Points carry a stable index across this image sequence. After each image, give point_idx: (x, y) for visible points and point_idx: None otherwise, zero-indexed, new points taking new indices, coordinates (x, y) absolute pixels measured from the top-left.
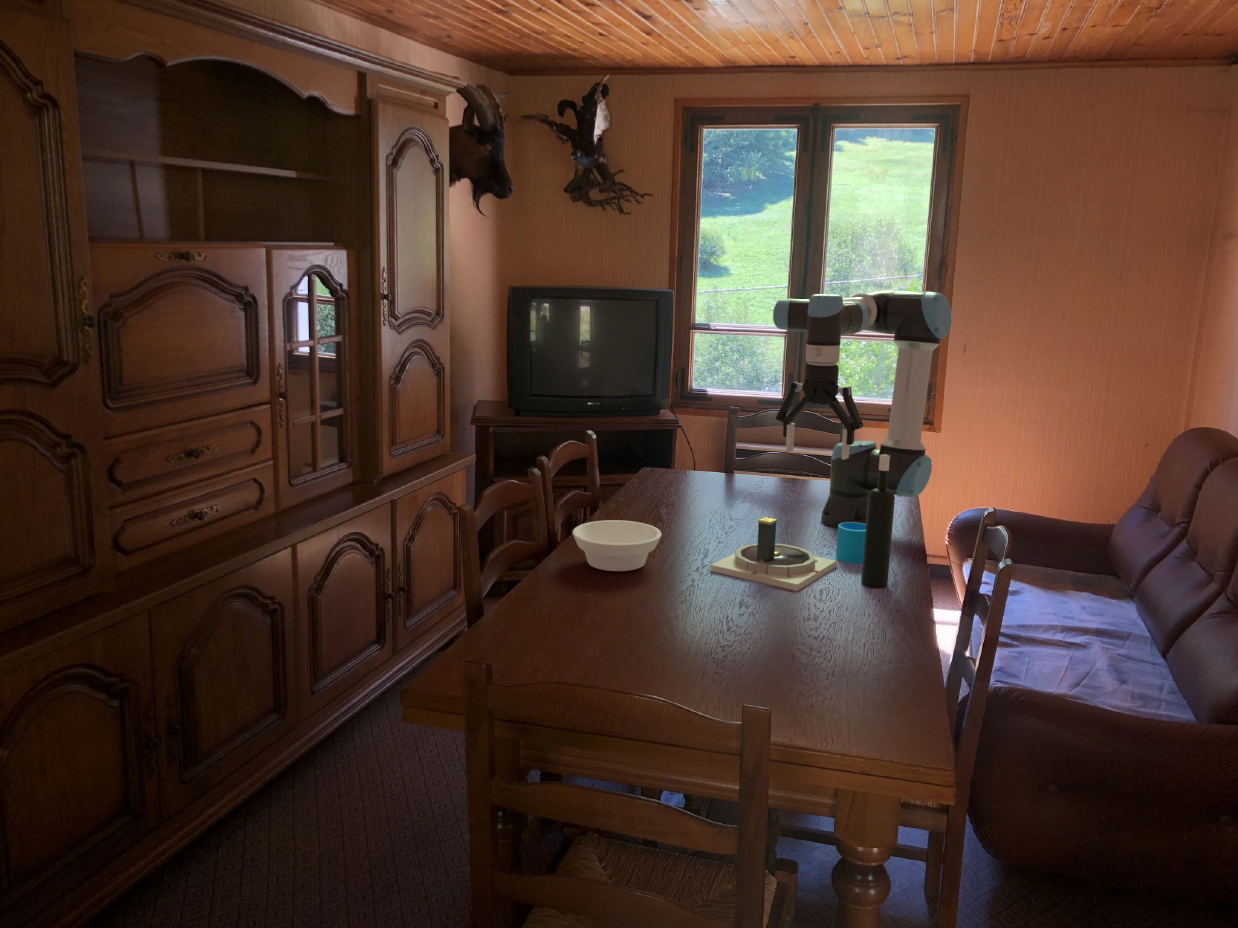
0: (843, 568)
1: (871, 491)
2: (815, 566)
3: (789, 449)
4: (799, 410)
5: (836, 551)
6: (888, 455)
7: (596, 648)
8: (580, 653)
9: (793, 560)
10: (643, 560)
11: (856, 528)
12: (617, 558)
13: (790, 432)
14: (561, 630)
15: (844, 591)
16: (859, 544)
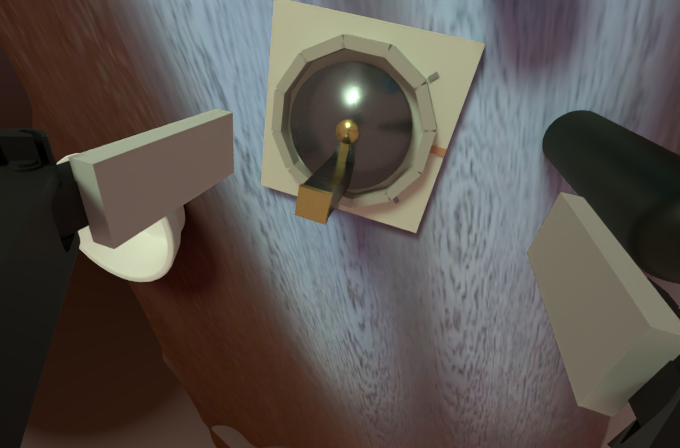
0: (503, 48)
1: (649, 255)
2: (437, 115)
3: (226, 170)
4: (35, 354)
5: None
6: None
7: (274, 406)
8: (269, 413)
9: (391, 156)
10: (180, 217)
11: None
12: (162, 253)
13: (157, 209)
14: (231, 380)
15: (502, 204)
16: None
